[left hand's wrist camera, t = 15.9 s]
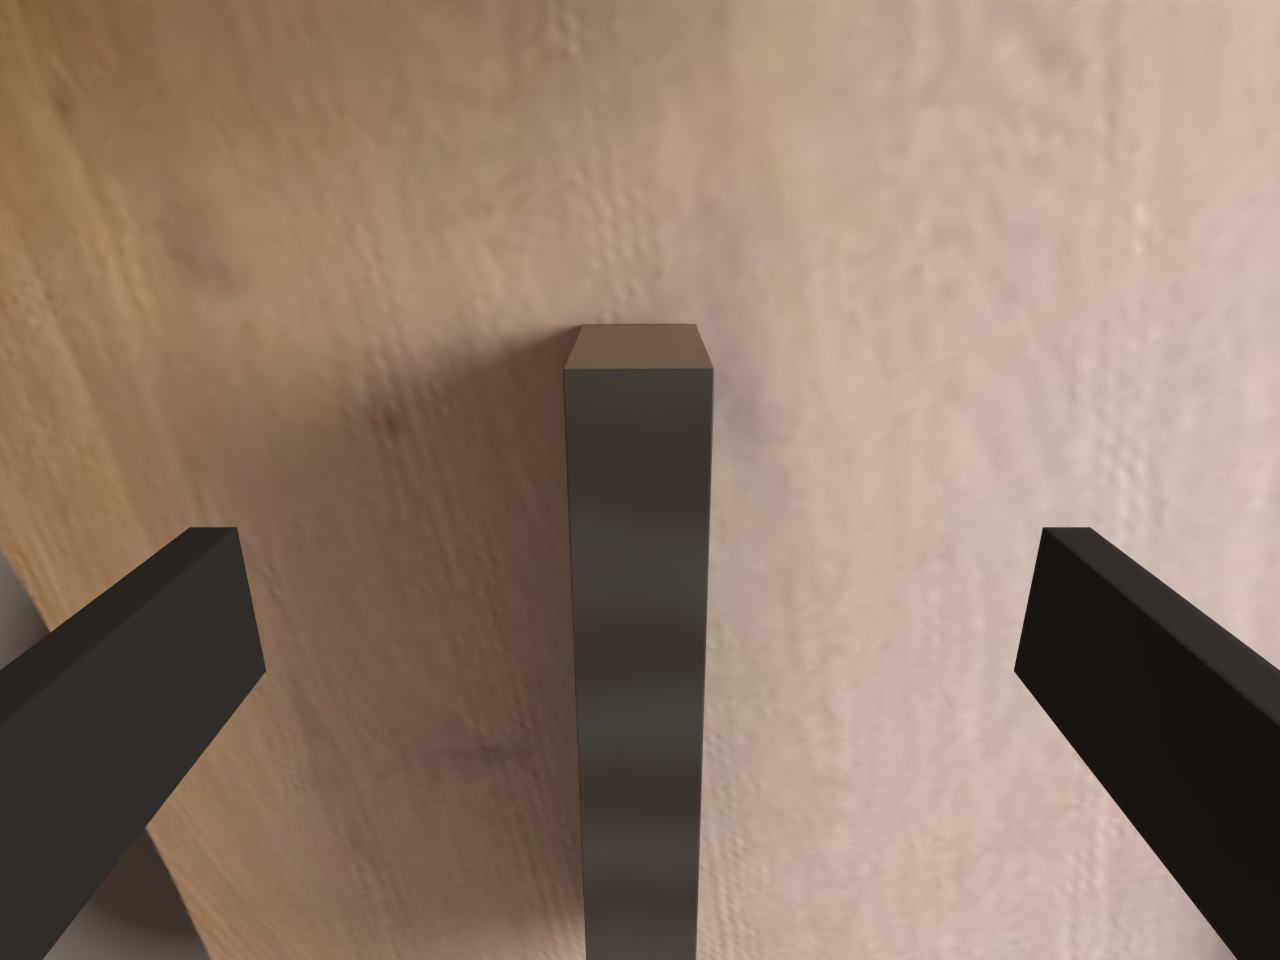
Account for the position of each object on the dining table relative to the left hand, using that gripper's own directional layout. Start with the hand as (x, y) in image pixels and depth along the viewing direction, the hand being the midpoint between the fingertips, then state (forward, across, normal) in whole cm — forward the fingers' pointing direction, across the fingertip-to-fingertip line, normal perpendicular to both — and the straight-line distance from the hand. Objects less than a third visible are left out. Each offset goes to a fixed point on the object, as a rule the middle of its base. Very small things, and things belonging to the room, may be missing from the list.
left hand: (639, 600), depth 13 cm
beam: (+23, 0, -16) cm, 28 cm away
